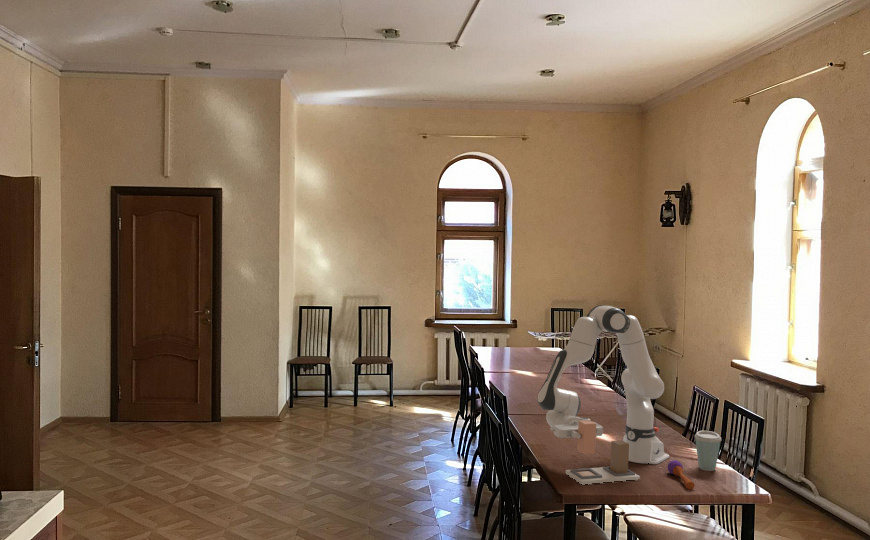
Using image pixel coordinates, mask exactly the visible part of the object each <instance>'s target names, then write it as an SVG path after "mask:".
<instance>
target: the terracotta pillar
mask: <svg viewBox="0 0 870 540" xmlns="http://www.w3.org/2000/svg"><path fill="white" fill-rule="evenodd" d="M594 422H595V421H593V422H592V420H591V421H590V420H585V421H579V426H578V433H581V434H582V438H581V439H578V438H577V449H576V450H577V451H578V452H579V453H581V454H582V455H592V454H593V455H594V454H595V455H596V438H597V437H596V423H597V422H595V423H594Z"/></svg>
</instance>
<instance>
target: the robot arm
mask: <svg viewBox="0 0 870 540" xmlns="http://www.w3.org/2000/svg"><path fill="white" fill-rule="evenodd" d="M588 312H589V313H587V314H586V315H585V316H581V317H579V318H578V319H577V320H576V322H575V324H574V326H573V329H572V331H571V334H570V337H569V341H568V343H567V344H566V346H565V347H564V348H563V349H561V350H559V352H558V353H557V355H556V357H555V358H554V361H553V362H552V364H551V367H550V369H549V371H548V374H547V376H546V378H545V380H544V383H543V384H542V385H541V388H540V389H539V391H538V393H537V402H538V405H539V406H540V407H541V409H542V410H544V411H545V410H546V411H547V412H546V415H545V420H546V422H547V424H548V425H549V427H550V431H551V432H553V435H554V436H555V437H557V438H559V439H568V438H569V439H574V438H575V439H577V440H578V439H581V438H582V434H581V433H578V426H579V421H585V420H590V421H592V420H591V418H589V417H580V416H578V414H579V413H580V410H581V405H582V403H581V399H580V395H579V394H578V393H577V392H576V391H573V390H569V389H563V388H559V387H557V386H558V384H559V381H560V380H561V377H562V375H563V372H564V371H565V369H567V368H568V367H570V366H573V365H579V364H580V365H581V364H584V363H586V362H588V361H590V359H591V358H592V357H593V354H594V352H595V350H596V349H595V348H596V345H597V339H598V338H599V336H600V334H601V333H602V332H606V333H611V334H615V336H616V338H617V342H618V345H619V349H620V353H621V357H622V360H623V363H625V366H626V368H625V369H624V370H623V371H622V373H621V376H620V378H621V383H622V385H623V388H624V393H625V399H626V407H627V412H626V424H625V427H624V428H625V429H624V431H625V433H624V435H623V438H622V441H624V442H626V443H628V444H629V458H628V462H632V463H636V464H648V463H649V464H651V465H658V464H660V463H662V462H664V461H666V460H668V459H669V458H670V455H669V454H668V453H666V452H665V445H664V443H663V442H662V441H661V440H660V439H659V438H658V437H657V436H656V433H659V430H660V429H659V427H656V426H654V417H655V416H654V414H655V410H654V406H653V405H652V402H651V400H655V399H658V398H660V397H661V396H662V395H664V392H665V383H664V381H663V380H662V378H661V377H660V375H659V374H658V372H657V369H656V367H655V365H654V363H653V361H652V359H651V357H650V354H649V351H648V346H647V342H646V338H645V335H644V331H643V328H642V326H641V324H640V321H639V320H638V318H637V317H636V316H635V315H631V314H626V313H625V312H624V311H623V310H621V308H618V307H614V306H611V305H604V304H598V305H595V306H593V307H592V308H591V309H590V310H589V311H588ZM592 422H594V423H596V438H597V437H601V436H603V433H604V427H603V426H602V425H601V424H599V423H597V422H595V421H592ZM649 464H648V465H649Z"/></svg>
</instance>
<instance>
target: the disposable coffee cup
mask: <svg viewBox="0 0 870 540" xmlns="http://www.w3.org/2000/svg"><path fill="white" fill-rule="evenodd" d="M694 440H695V448H696V454H697V456H696V458H697V463H698V468H699V469H700V470H702V471H707V472H713V471H715V470H716V469H717V462H718V458H719V457H718V456H719V452H720V447H721V442H722V437H721V436H720V434H719V433H717V432H715V431H710V430H699V431H697V432H696V433H695V434H694Z"/></svg>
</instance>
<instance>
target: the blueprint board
mask: <svg viewBox="0 0 870 540" xmlns="http://www.w3.org/2000/svg"><path fill="white" fill-rule="evenodd" d="M610 443H611V445H610V463H609V466H600V467H588V468H586V467H585V468H574V469H573V468H572V469H565V473H566V474H565V475H567V476H568V475H569V476H568V477H570V478H571V479H572V478H573V480H574V479H575V480H576V481H575V480H574V481H575V482H577V483H578V482H579V483H578V484H580V485H581V484H582V485H581V486H584V485H585V484H588V485H593V484H592V483H600V484H604V483H603V482H612V483H615V482H614V481H623V482H627V481H626V480H635V481H639V480H638V479H640V480H641V476H640V475H639V474H637V473H636V472H634V471H632V470H631V469H629V461H628V458H629V444H628V443H626V442H624V441H623V439H621V440H611V442H610ZM585 486H586V485H585Z"/></svg>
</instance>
